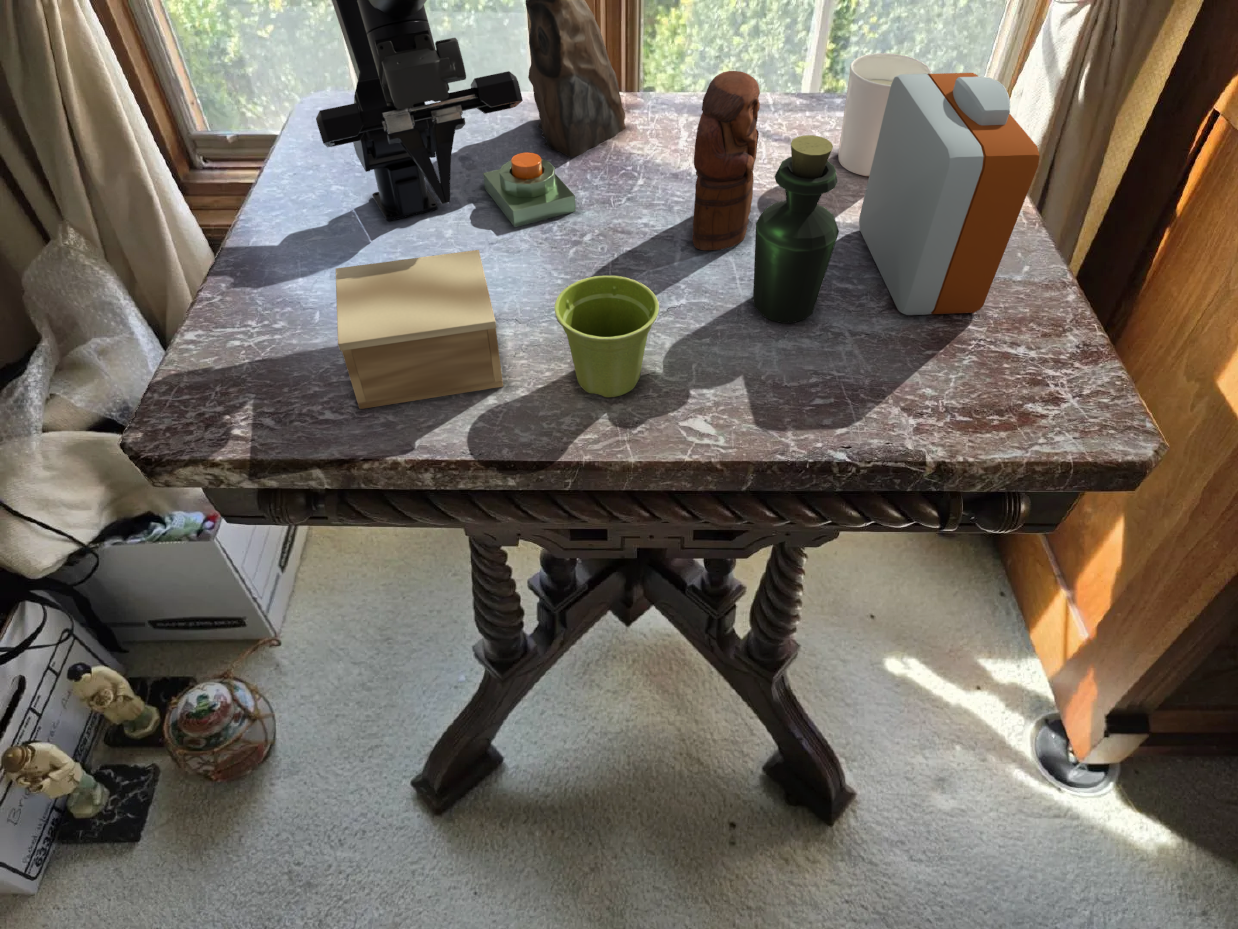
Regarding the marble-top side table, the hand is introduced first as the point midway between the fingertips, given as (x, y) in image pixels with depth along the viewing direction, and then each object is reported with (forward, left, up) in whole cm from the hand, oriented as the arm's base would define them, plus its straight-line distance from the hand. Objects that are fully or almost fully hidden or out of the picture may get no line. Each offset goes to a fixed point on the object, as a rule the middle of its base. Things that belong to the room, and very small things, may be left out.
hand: (445, 203), depth 83 cm
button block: (-16, +15, -11) cm, 24 cm away
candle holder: (-5, +59, -12) cm, 60 cm away
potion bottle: (+16, +31, -12) cm, 37 cm away
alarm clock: (+17, +48, -12) cm, 52 cm away
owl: (-29, +28, -12) cm, 41 cm away
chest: (+8, -6, -11) cm, 16 cm away
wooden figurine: (0, +33, -12) cm, 35 cm away
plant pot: (+18, +9, -12) cm, 23 cm away
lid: (+9, -7, -4) cm, 12 cm away
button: (-16, +15, -8) cm, 23 cm away
